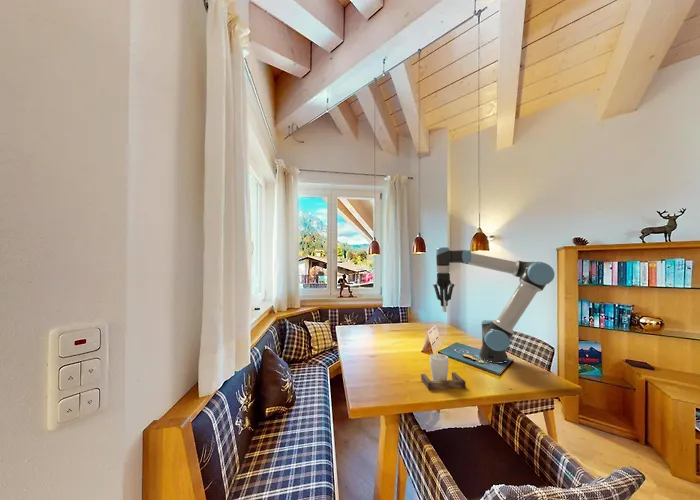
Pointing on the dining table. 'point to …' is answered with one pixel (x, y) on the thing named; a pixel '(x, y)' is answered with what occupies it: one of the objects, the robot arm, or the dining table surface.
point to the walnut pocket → (444, 382)
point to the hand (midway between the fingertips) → (444, 311)
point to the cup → (439, 367)
